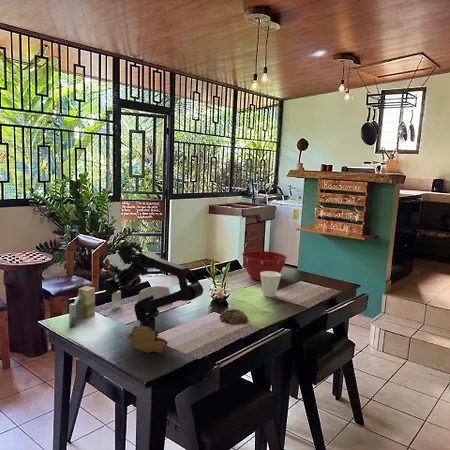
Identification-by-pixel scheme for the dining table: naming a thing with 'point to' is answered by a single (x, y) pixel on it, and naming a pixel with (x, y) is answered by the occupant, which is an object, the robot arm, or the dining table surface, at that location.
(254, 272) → the mixing bowl
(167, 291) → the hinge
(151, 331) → the wooden carving
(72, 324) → the frame
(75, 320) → the green upright panel
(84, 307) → the block
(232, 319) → the brown dome mound
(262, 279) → the cup
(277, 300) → the dining table surface
